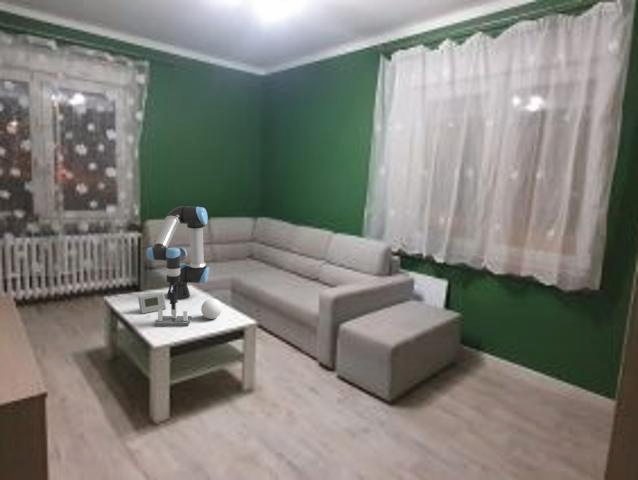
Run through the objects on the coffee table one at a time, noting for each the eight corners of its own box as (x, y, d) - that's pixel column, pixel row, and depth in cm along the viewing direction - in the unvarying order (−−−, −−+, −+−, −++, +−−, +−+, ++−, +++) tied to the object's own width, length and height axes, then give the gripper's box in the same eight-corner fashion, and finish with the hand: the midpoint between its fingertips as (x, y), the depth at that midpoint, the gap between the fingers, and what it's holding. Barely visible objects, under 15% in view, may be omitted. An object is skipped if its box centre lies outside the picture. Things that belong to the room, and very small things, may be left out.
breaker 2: (184, 319, 242) (184, 309, 241) (187, 319, 242) (187, 309, 241) (183, 321, 240) (183, 311, 239) (186, 321, 240) (186, 311, 239)
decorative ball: (225, 317, 256) (225, 298, 254) (212, 323, 245) (212, 303, 243) (210, 313, 261) (210, 295, 259) (197, 319, 250) (197, 300, 248)
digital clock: (139, 315, 253) (139, 298, 251) (137, 310, 261) (136, 294, 259) (167, 311, 262) (167, 294, 260) (164, 307, 269) (164, 291, 268)
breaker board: (160, 319, 248) (160, 315, 247) (191, 319, 250) (191, 315, 250) (155, 326, 236) (155, 323, 236) (188, 326, 238) (188, 323, 238)
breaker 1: (159, 319, 240) (158, 309, 239) (162, 319, 240) (162, 309, 240) (157, 321, 238) (157, 311, 237) (161, 321, 238) (161, 311, 237)
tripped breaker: (173, 316, 246) (173, 307, 245) (176, 316, 246) (176, 307, 245) (172, 318, 243) (172, 308, 242) (175, 318, 244) (175, 308, 243)
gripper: (169, 271, 244) (169, 310, 248) (164, 277, 232) (164, 318, 235) (182, 272, 245) (182, 310, 249) (178, 277, 233) (178, 318, 236)
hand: (173, 314), depth 242 cm, fingers closed
